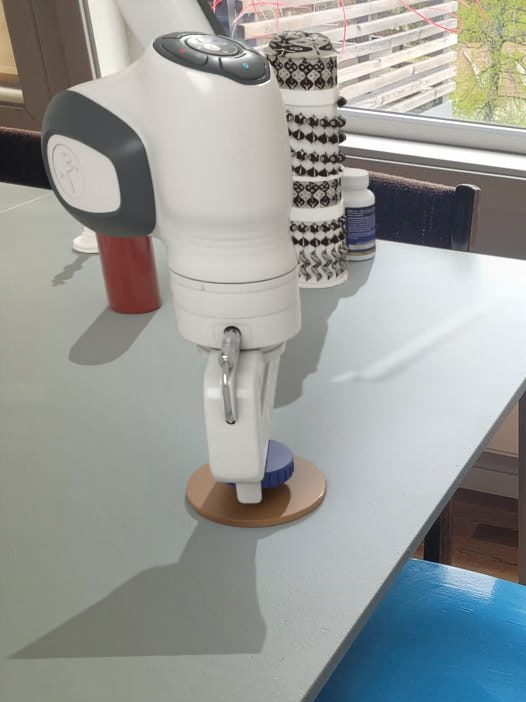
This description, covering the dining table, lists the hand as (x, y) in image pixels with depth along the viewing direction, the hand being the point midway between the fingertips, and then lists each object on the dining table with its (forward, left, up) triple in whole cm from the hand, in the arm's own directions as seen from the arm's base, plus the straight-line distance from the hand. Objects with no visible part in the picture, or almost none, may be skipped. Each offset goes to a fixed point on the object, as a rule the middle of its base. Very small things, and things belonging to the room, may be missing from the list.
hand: (254, 474), depth 79 cm
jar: (-16, +40, -2) cm, 43 cm away
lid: (0, 0, +2) cm, 2 cm away
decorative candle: (+3, +50, -2) cm, 50 cm away
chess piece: (-24, +59, -2) cm, 64 cm away
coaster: (0, 0, -2) cm, 2 cm away
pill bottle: (+8, +58, -2) cm, 59 cm away
